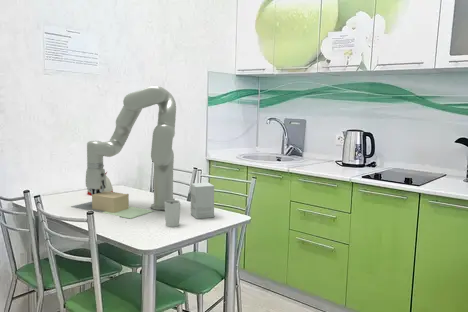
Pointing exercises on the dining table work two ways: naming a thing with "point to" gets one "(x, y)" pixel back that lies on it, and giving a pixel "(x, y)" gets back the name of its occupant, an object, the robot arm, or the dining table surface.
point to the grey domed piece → (108, 186)
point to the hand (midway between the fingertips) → (95, 202)
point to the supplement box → (202, 200)
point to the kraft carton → (110, 201)
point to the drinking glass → (172, 212)
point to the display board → (126, 213)
